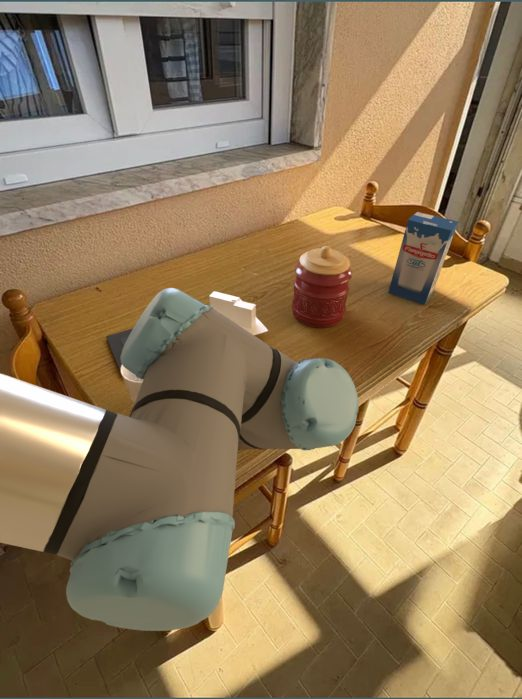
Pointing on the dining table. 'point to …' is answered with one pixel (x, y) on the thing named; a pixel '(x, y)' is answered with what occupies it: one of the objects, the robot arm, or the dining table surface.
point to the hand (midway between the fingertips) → (173, 427)
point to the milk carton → (421, 256)
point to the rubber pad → (118, 344)
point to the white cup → (131, 383)
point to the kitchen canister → (321, 287)
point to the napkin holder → (237, 312)
